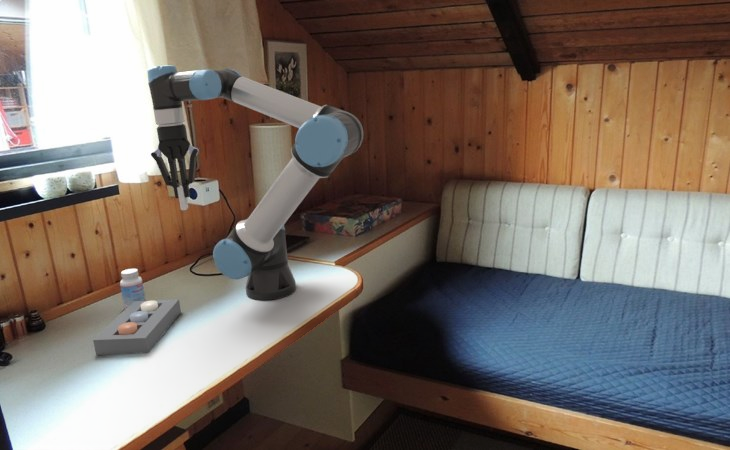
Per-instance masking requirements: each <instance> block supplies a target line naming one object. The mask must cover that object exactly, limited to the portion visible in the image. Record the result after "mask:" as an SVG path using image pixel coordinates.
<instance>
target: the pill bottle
mask: <svg viewBox="0 0 730 450" xmlns="http://www.w3.org/2000/svg"><path fill="white" fill-rule="evenodd" d="M120 275H121V276H120V277H121V278H122V279H121V280H120V281H119V286H120V290H121V291H120V292H121V296H122V303H123V307H124V310H125V309H126V308H127V307H128V306H129V305H131V304H132V303H133V302H134V301H147V300H146V294H145V289H144V283H143V279H142V277H141V276H139V270H138V268H127V269H125V270H122V271H121V272H120Z"/></svg>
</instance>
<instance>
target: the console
mask: <svg viewBox="0 0 730 450" xmlns="http://www.w3.org/2000/svg"><path fill="white" fill-rule="evenodd" d="M146 301H147V300H146ZM146 301H134V302H133V303H132V304H131V305H129V306H128V307H127V308H126V309H125V308H124V310H123V311H122V312H121V313H120V314H119V315H118V316H116V317H115V319H113V321H111V322H110V324H108V325H107V326H106V327H105V328H104V329H103V330H102V331H101V332H100V333H99V334H98V335H96V336H95V338H93V340H92V342H93V347H94V351H95V355H96V356H98V355H99V356H100V355H101V356H102V355H106V356H107V355H124V354H126V355H127V354H149V353H150V351H151V350H152V348H153V347H154V346H155V345H156V344H157V343H158V341H159V340H160V339H161V338H162V337H163V335H165V333H166V331H167V330H168V329H169V328H170V326H171V325H172V324H173V323H174V322H175V320H176V319H177V318H178V317H179V315H180V314H181V313H182V311H181V303H180V299H179V298H178V299H175V298H174V299H155V300H154V299H151V300H150V301H157V303H158V309H157V310H156V311H146V312H147V313H148V320H147V321H146V322H137V323H136V324H137V329H138V331H137V332H136V333H135V334H130V335H119V331H118V326H120V325H121V324H124V323H128V322H131V321H130V315H131V314H132V313H134V312H137V311H141V304H142V303H144V302H146Z"/></svg>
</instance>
